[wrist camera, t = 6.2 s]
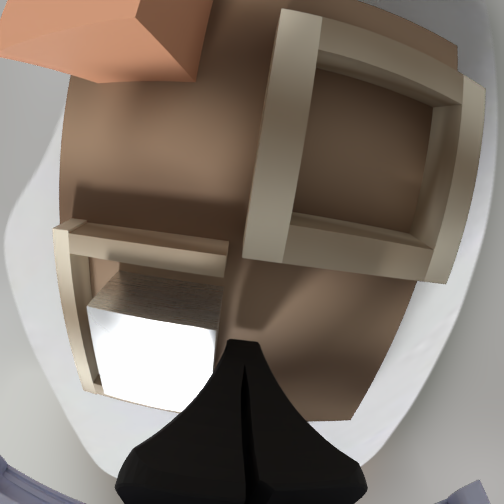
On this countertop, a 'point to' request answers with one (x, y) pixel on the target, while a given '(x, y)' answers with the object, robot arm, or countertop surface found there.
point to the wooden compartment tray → (245, 199)
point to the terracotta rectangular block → (108, 37)
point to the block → (155, 338)
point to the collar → (292, 142)
